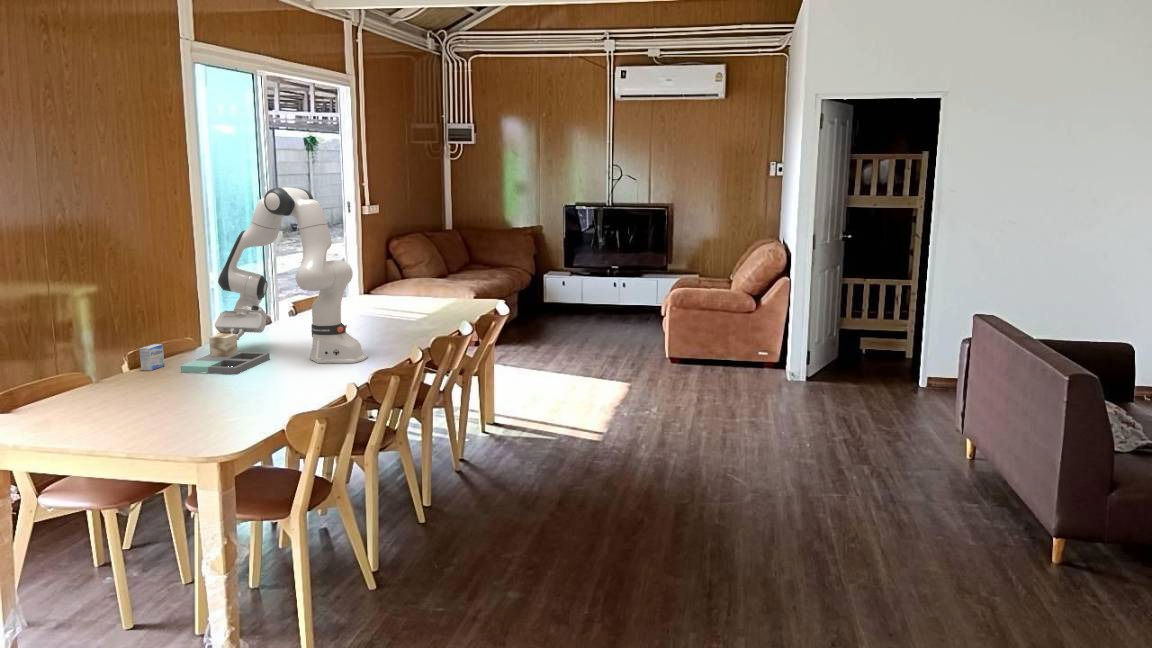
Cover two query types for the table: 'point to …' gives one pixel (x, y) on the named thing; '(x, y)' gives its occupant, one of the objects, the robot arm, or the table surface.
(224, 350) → the birch block
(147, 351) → the medicine box
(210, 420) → the table surface
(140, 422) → the table surface
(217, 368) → the tray
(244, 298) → the robot arm
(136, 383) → the table surface
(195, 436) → the table surface
